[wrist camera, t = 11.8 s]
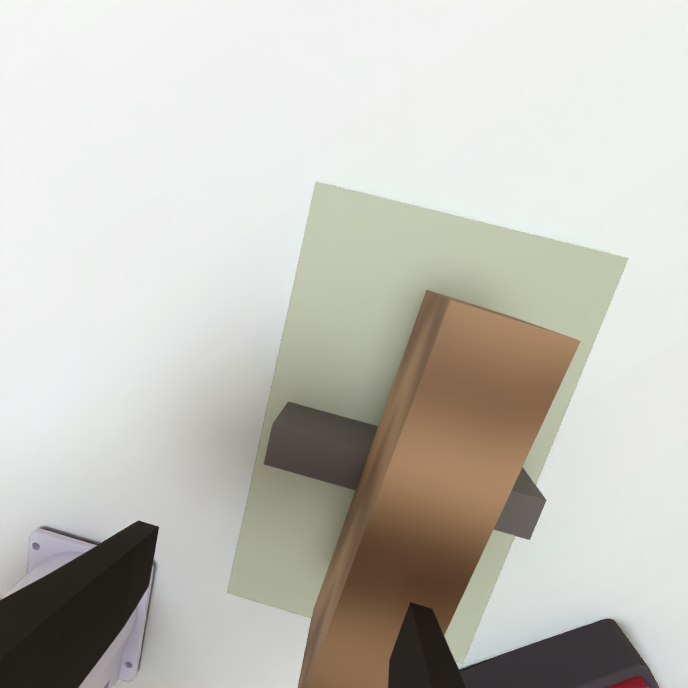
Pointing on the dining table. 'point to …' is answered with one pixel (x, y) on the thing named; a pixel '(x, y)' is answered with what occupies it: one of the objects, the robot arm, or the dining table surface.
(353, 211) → the stand
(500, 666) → the red and black box
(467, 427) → the walnut batten
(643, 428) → the dining table surface
